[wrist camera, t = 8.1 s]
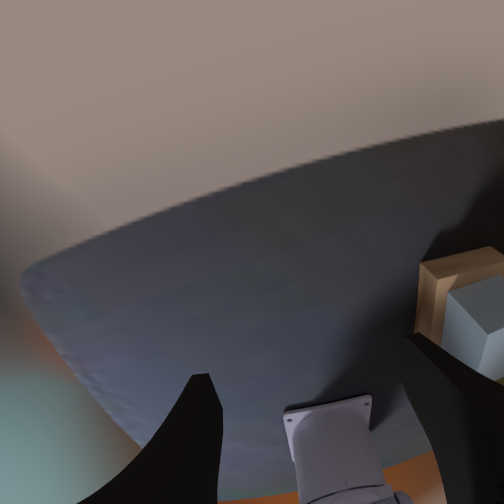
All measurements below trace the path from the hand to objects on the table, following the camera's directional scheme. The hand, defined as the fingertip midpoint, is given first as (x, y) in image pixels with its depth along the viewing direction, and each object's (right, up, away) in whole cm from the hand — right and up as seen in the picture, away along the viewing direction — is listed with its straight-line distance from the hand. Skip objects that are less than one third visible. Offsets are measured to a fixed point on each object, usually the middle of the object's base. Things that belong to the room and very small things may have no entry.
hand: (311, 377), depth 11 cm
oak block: (+14, +1, +11) cm, 17 cm away
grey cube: (+14, 0, +8) cm, 16 cm away
